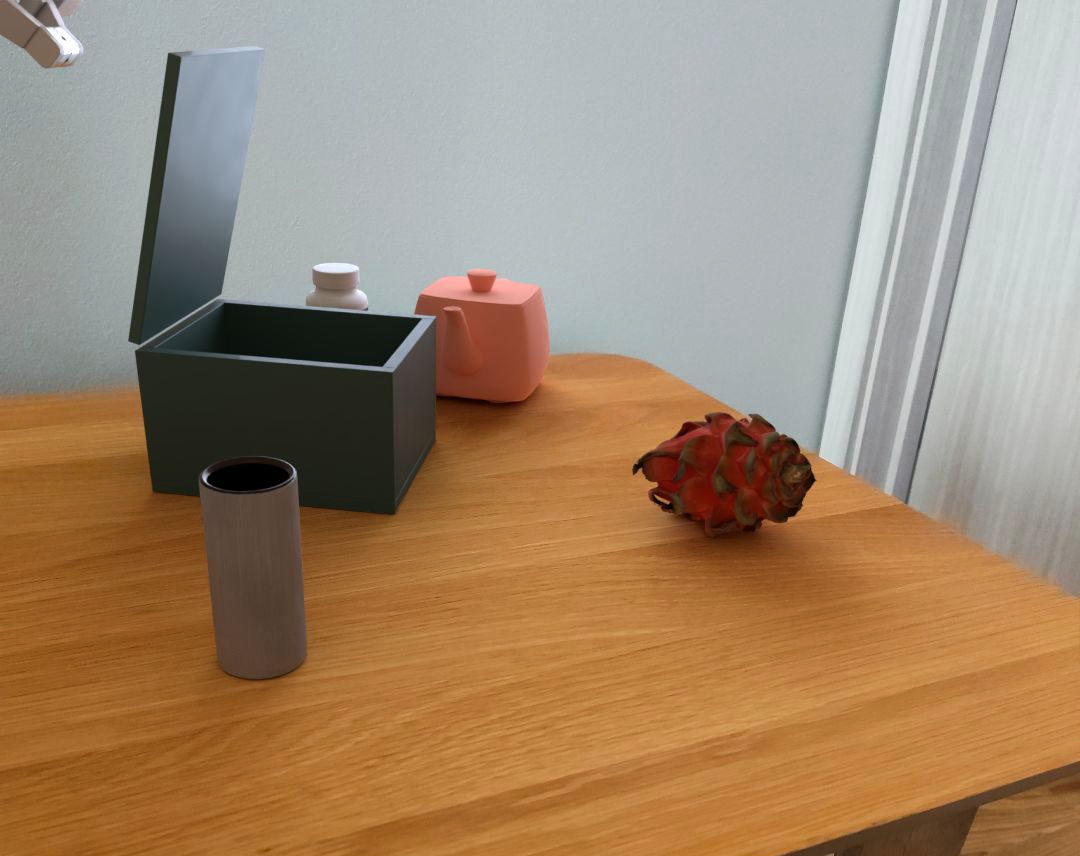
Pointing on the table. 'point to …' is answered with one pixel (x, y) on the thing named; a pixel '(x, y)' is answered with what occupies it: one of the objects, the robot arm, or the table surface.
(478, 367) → the teapot
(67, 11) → the robot arm
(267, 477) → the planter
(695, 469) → the dragon fruit
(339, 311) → the box
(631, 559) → the table surface
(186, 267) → the lid
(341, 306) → the pill bottle
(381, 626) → the table surface
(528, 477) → the table surface
